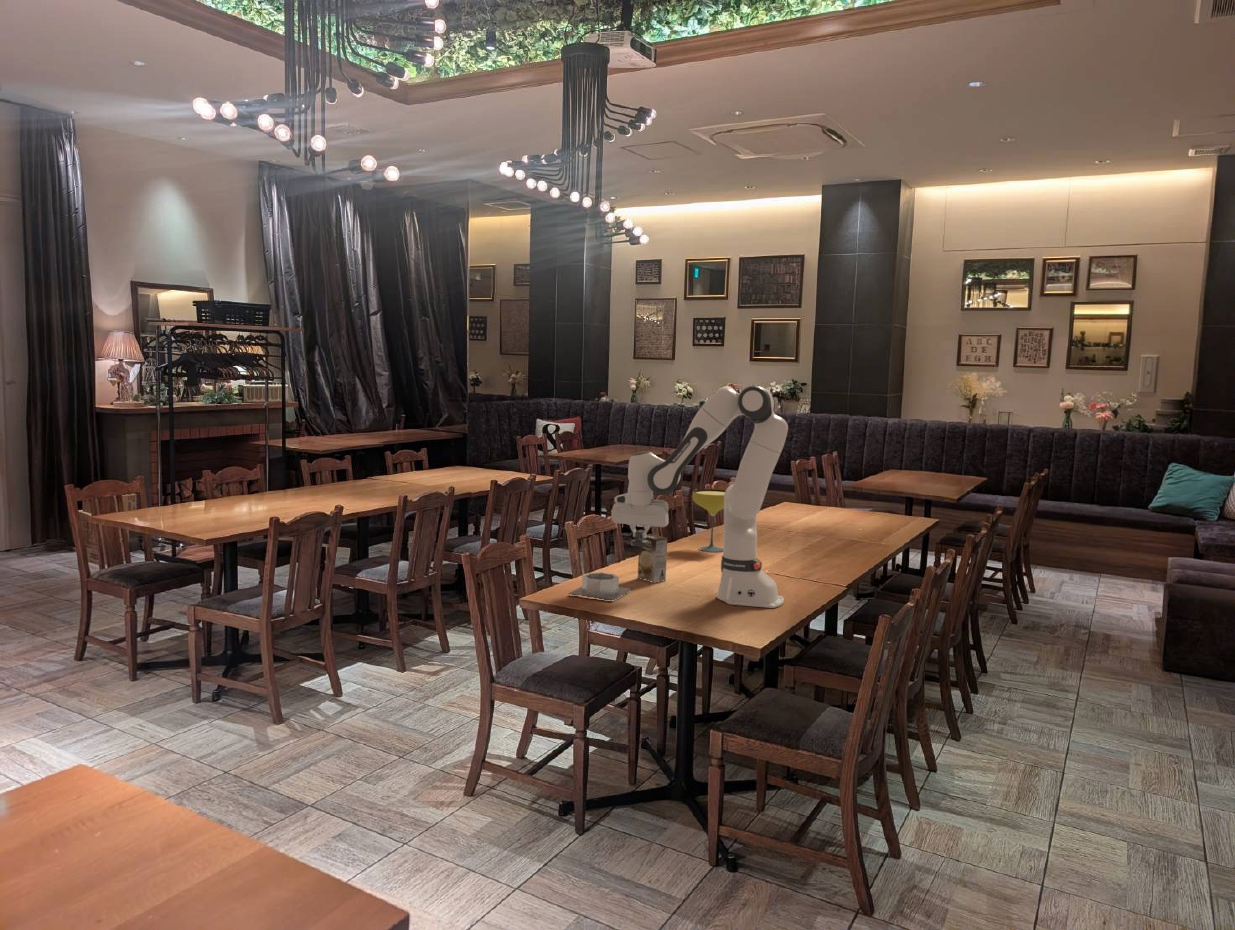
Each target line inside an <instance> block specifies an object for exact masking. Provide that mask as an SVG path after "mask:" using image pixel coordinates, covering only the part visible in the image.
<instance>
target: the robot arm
mask: <svg viewBox="0 0 1235 930" xmlns="http://www.w3.org/2000/svg"><path fill="white" fill-rule="evenodd" d="M775 407H776V401H775V398H774V396H773V395H772V393H771V392H770V391H769V390H768V389H767V388H765V387H762V386H760V385H749V386H747V387H745V388H744V389H743V390H741V392H740V393H739V392H737V391H736V390H734V389H732V388H730V387H721V388H719V389H717V391H716V392H714V393H713V394H712V395H711V396H710V397H709V398H708V399H707V400H706V401H705V403H703V405H702V406H701V407H700V408H699V410H698V411H697V412H696V414H695V416H694V417H693V419H692V420H691V423H690V424H689V427H688V429H687V431H686V434H685V435H684V437H683V439H681V442H680V443H679V444H678V446H677V447H676V448H675V449H674V450H673V452H672V453H671V454H670V455H669V457H668V458H667V459H662V458H661V457H659V456H657V455H655V454H654V453H653V452H652V451H649V450H647V451H639V452H636V453H634V454H632V455H631V456H630V458H629V460H628V469H627V470H628V473H627V478H628V481H629V482H628V487H627V492H625V493H623V494H619V495H616V496H615V497H614V503H613V506H612V510H611V521H612V523H613V524H623V525H624V524H625V525H629V529H630V530H631V532H632V537H633V538H635V532H636V531H637V529H636V527H637V526H643V530H644V532H642V533H641V538H646V536H647V533H648V532H649V530H650V529H651V527H655V528H657V527H659V528H665V527H667V526H668V525H669V520H670V519H669V510H670V509H669V508H670V507H669V502H667V501H666V500H664V499H656V498H654V494H657V495H659V496H660V495H661V496H665V495H669V494H671V493H672V492H674V490H675V489H676V488H677V485H678V484H679V482H680V480H681V478H682V477H681V476H682V472H683V470H684V469H685V468H686V466H688V464H689V463H690V462H691V460H693V458H694V457H695V455H697V453H699V452H700V451H701V450H702V449H704V448H705V447H706V446H708V445H710V444H711V443H712V442H714V441H715V440H717V439H718V437H719V436H720V435H722V433H724V432H725V430H726V429H727V428H728V427H729V426H730V424H731V423H732V422H733V421H734V420H735V419H737V417H739V416H744V417H746V418H747V419H749V421H751V422H752V423H754V428H753V432H752V434H751V437H750V439H749V441H748V443H747V446H746V448H745V451H744V453H743V456H742V457H741V458H742V459H740V462H739V467H738V471H737V474H736V476H735V479H734V482H733V483H731V484H730V485H729V486H728V487H727V488H726V490H725V494H724V509H723V548H722V549H723V551H722V552H723V553H722V555H721V561H720V571H721V572H720V573H721V575H720V576H721V577H720V582H719V587H718V591H717V594H716V598H717V599H718V600H720V601H723V602H725V604H727V605H735V606H746V607H755V608H756V607H759V608H767V609H774V608H778V607H780V606H782V605H783V604H784V603H785V598H784V597H783V596H782V595H779V592H778V586H777V583H776V582H775V580H774V579H773V578H771V577H770V576H769V575H768V574H767V573H765V571H763V570H762V567H763V566H762V564H763V560H762V559H761V560H760V559H758V558H757V546H758V545H757V543H758V530H757V529H758V527H757V515H758V514H759V513H760V510H761V508H762V505H763V503H764V500H765V496H766V494H767V490H768V487H769V484H770V481H771V478H772V475H773V472H774V470H775V467H776V466H777V463H778V461H779V459H780V456H781V454H782V451H783V449H784V446H785V442H786V438H787V436H788V430H789V425H788V422H787V421H786V420H785V418H783V417H781V416H779V415H777V414H776V413H775V409H776V408H775Z"/></svg>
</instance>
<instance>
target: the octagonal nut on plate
mask: <svg viewBox="0 0 1235 930" xmlns="http://www.w3.org/2000/svg"><path fill="white" fill-rule="evenodd" d="M619 584H620V578H619V576H618V575H616V574H614V573H609V572H608V573H607V572H601V571H600V572H599V571H598V572H588V573H586V574H584V575H582V576H581V586H580V587H578V588H576V589H574V590H572V591H570V592H568V594H572V595H582V596H587V597H594V598H599V599H604V600H615V599H617V598H618V597H620V596H621V595H624V594H626V593H627V592H629V591H631V592H632V588H629V587H628V588H626V587H619ZM626 595H627V594H626ZM624 596H625V595H624ZM617 600H618V599H617Z"/></svg>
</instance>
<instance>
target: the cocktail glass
mask: <svg viewBox="0 0 1235 930" xmlns="http://www.w3.org/2000/svg"><path fill="white" fill-rule="evenodd" d="M725 491H726V490H722V489H709V488H708V489H706V488H705V489H695V490H693V491H692V495H691V497H692V501H693V502H694V503H695V504H696V505H697V506H699V507H701V508H703V509H704V510H705V511H707V512H708V513H709V515H710V516H711V533H710V542H709V545H708V546H700V547H699V548H701V550H703V551H702V552H704V551H707V552H706V553H721V552H723V548H722V547H719V546H714V539H713V538H714V537H713V535H714V516H716V515H717V514H718V512H720V511H721V510H724V494H725ZM701 550H700V551H701Z"/></svg>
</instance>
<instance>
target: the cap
mask: <svg viewBox="0 0 1235 930" xmlns="http://www.w3.org/2000/svg"><path fill="white" fill-rule="evenodd" d="M644 531H645V529H639V530H636V532H635V537H634V539H631V540H630V545H631V546H632V547H637V548H639V547H646V546H648V540H644V538H641V533H642V532H644Z"/></svg>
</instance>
